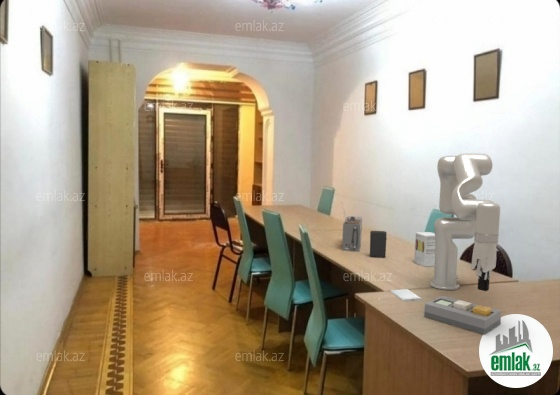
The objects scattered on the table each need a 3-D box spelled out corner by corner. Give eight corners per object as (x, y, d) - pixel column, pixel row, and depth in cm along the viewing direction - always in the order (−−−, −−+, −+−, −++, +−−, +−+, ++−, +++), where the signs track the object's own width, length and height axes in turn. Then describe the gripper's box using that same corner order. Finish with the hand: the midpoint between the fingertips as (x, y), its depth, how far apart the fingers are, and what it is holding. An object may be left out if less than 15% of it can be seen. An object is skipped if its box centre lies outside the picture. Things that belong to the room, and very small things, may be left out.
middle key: (458, 306, 168) (459, 300, 167) (471, 309, 164) (471, 303, 164) (453, 309, 164) (453, 302, 164) (465, 312, 161) (466, 306, 161)
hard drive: (390, 290, 196) (403, 299, 184) (407, 288, 198) (422, 297, 186) (390, 293, 197) (403, 302, 184) (407, 292, 198) (421, 301, 186)
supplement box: (413, 262, 249) (414, 232, 247) (427, 261, 252) (429, 231, 250) (424, 266, 240) (425, 235, 238) (438, 265, 243) (440, 234, 241)
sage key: (440, 306, 173) (441, 299, 172) (452, 309, 169) (452, 303, 169) (434, 309, 170) (435, 302, 169) (446, 312, 166) (446, 305, 166)
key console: (442, 307, 177) (442, 295, 177) (500, 324, 162) (501, 310, 161) (424, 316, 168) (424, 303, 167) (484, 334, 152) (485, 320, 151)
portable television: (361, 244, 296) (363, 198, 293) (359, 252, 273) (361, 202, 270) (343, 243, 299) (344, 197, 296) (339, 250, 276) (341, 201, 273)
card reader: (385, 256, 262) (386, 230, 261) (386, 258, 259) (387, 232, 257) (369, 255, 264) (370, 230, 262) (369, 257, 260) (370, 231, 259)
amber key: (477, 311, 162) (478, 304, 162) (491, 315, 159) (491, 308, 159) (472, 314, 159) (472, 307, 159) (485, 318, 156) (486, 311, 156)
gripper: (484, 234, 164) (481, 283, 166) (465, 239, 154) (463, 291, 156) (505, 237, 159) (502, 288, 161) (488, 242, 149) (485, 297, 150)
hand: (483, 289), depth 158 cm, fingers closed
